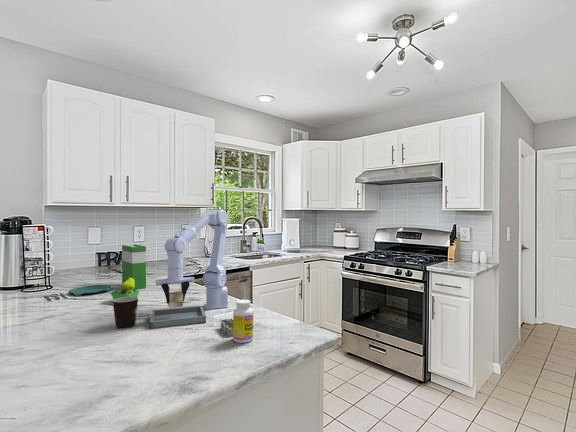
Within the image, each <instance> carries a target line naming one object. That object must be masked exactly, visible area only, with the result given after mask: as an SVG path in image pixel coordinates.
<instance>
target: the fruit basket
mask: <svg viewBox="0 0 576 432" xmlns="http://www.w3.org/2000/svg"><path fill="white" fill-rule="evenodd" d="M134 283H135V280H134V279H133V278H128V279H127V280H126V281H125V282H124V283H123V284H121V285H122V288H123V289H122V288H119V289H117V290H114V291H111V292H110V295H111V296H112V301H113V300H114V299H116V298H121V297H138V296H139V294H140V290H133V289H134V287H135V284H134ZM138 298H139V297H138Z"/></svg>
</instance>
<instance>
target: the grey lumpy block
mask: <svg viewBox="0 0 576 432" xmlns="http://www.w3.org/2000/svg"><path fill="white" fill-rule="evenodd" d="M219 321H220V330H221V331H223V333H225V334H227V336H230V337H231V336H232V337H233V318H224V319H223V318H219Z"/></svg>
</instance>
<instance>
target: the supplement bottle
mask: <svg viewBox="0 0 576 432" xmlns="http://www.w3.org/2000/svg"><path fill="white" fill-rule="evenodd" d="M235 304H236V305H235V306H236V308H235V309H234V310H233V312H232V313H233V315H232V317H233V318H232V320H233V336H232V339H233V341H234V342H236V343H240V344H246V343H249V342H250V343H251V342H252V341H253V339H254V310H253V308H252V307H251V304H252V303H251V300H249V299H238V300H236V303H235Z"/></svg>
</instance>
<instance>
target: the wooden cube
mask: <svg viewBox="0 0 576 432" xmlns="http://www.w3.org/2000/svg"><path fill="white" fill-rule="evenodd" d="M167 306H168V309H171V308H182V307H184V302H183V293H182V292H181V290H180V291H179V290H178V291H169V303H168V304H167Z"/></svg>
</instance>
